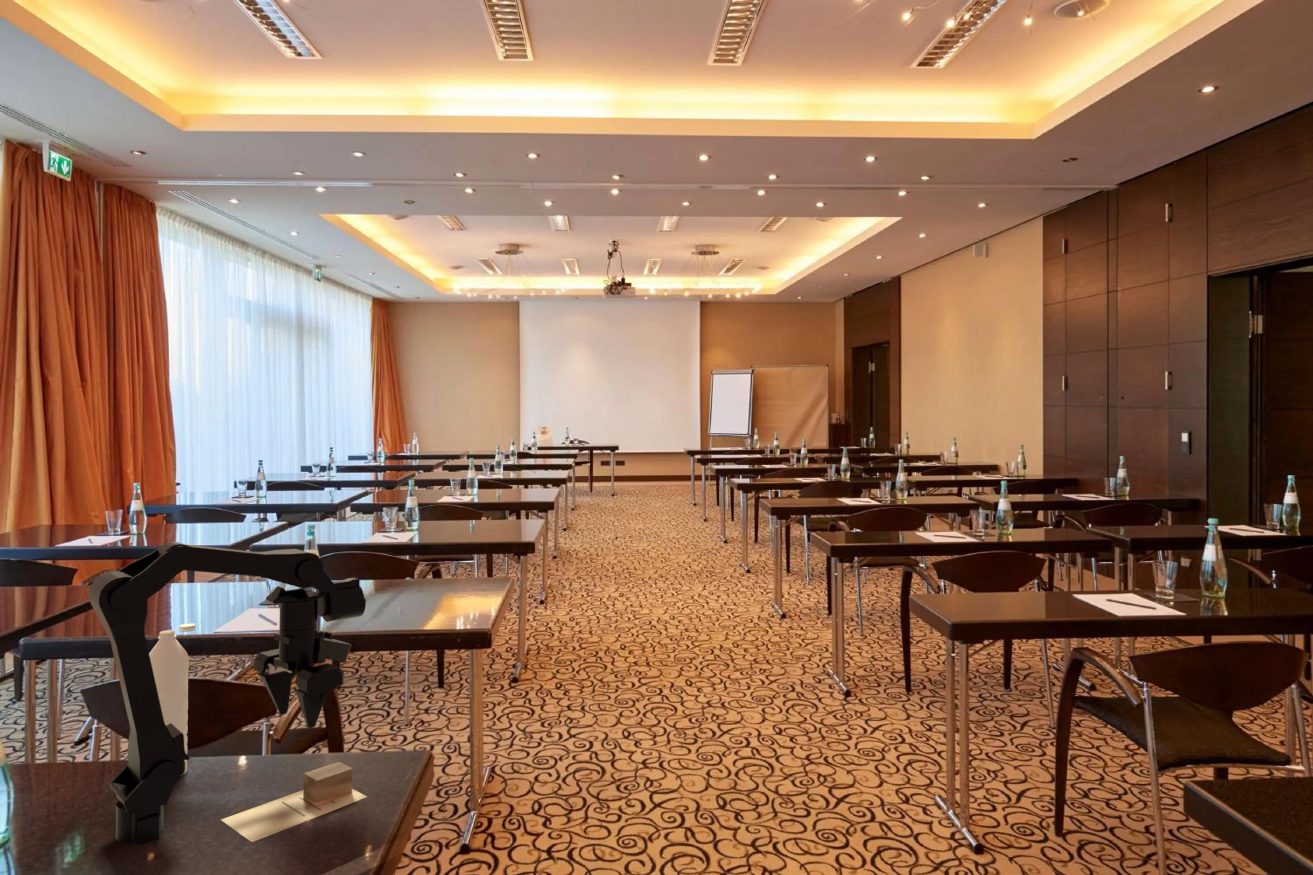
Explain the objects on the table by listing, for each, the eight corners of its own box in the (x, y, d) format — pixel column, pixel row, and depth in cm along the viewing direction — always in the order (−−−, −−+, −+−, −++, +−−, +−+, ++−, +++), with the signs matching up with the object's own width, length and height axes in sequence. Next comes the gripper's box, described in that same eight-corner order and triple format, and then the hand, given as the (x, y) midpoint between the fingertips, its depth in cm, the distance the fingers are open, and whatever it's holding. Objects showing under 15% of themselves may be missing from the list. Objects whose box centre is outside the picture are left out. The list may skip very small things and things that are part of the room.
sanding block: (303, 798, 123) (303, 773, 123) (338, 785, 127) (339, 761, 127) (316, 806, 120) (316, 780, 120) (351, 793, 125) (352, 768, 125)
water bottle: (165, 785, 130) (167, 636, 130) (133, 780, 131) (135, 633, 131) (206, 763, 138) (208, 624, 138) (175, 759, 140) (177, 622, 140)
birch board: (220, 829, 116) (220, 819, 116) (333, 787, 130) (334, 778, 130) (251, 852, 110) (251, 841, 110) (367, 805, 124) (367, 796, 124)
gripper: (374, 626, 128) (372, 720, 129) (316, 609, 140) (314, 695, 140) (309, 639, 120) (307, 740, 120) (253, 620, 131) (251, 712, 131)
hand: (297, 720), depth 128 cm, fingers open, 9 cm apart
